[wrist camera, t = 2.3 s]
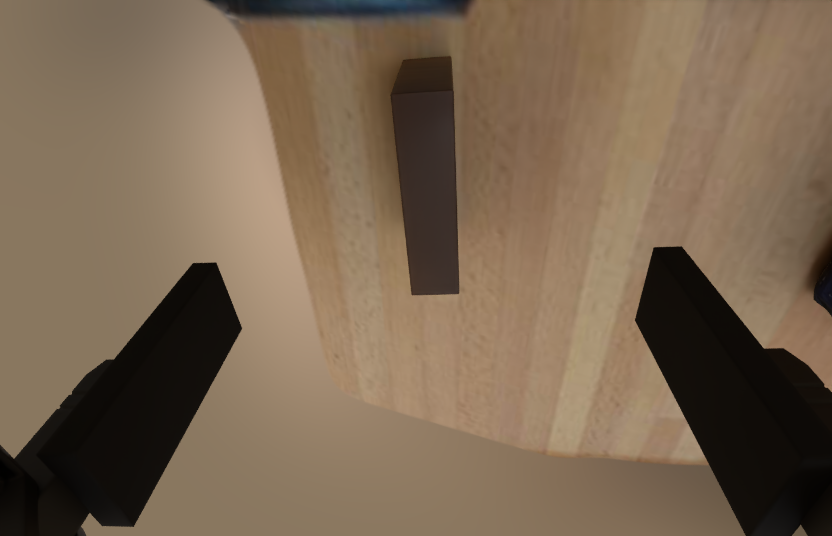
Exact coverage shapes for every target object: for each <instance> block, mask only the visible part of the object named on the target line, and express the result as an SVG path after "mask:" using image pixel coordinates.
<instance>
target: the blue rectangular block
mask: <svg viewBox="0 0 832 536" xmlns="http://www.w3.org/2000/svg"><path fill="white" fill-rule="evenodd" d="M814 300H815V301H816V302H817V303H818V304H820V305H821V306H823V307H824V308H825V309H826V310H827V311H828V312H829V314H830V315H831V316H832V261H831V262H830V263H829V265H828V266H827V267H826V268H825V269H824V271H823V273H822V274H821V276H820V277H819V279H818V281H817V283H816V286H815V288H814Z"/></svg>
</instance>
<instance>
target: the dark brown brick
mask: <svg viewBox="0 0 832 536" xmlns="http://www.w3.org/2000/svg"><path fill="white" fill-rule="evenodd" d="M391 104H392V113H393V123H394V132H395V142H396V151H397V161H398V170H399V180H400V189H401V199H402V208H403V217H404V227H405V236H406V246H407V255H408V265H409V274H410V284H411V293H412V295H441V294H459V263H458V229H457V194H456V160H455V125H454V91H453V76H452V61H451V57H450V56H449V57H436V58H422V59H409V60H403V62H402V65H401V68H400V71H399V73H398V76H397V79H396V81H395V84H394V87H393V90H392V92H391Z"/></svg>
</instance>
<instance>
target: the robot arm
mask: <svg viewBox="0 0 832 536" xmlns="http://www.w3.org/2000/svg"><path fill="white" fill-rule="evenodd" d="M635 321H636V323H637V325H638V327H639V329H640V331H641V333H642V335H643V337H644V339H645V341H646V343H647V345H648V347H649V348H650V350H651V352H652V354H653V356H654V358H655V360H656V362H657V364H658V366H659V368H660V370H661V372H662V374H663V376H664V378H665V380H666V382H667V383H668V385H669V387H670V389H671V391H672V393H673V395H674V397H675V399H676V401H677V403H678V405H679V407H680V409H681V411H682V413H683V415H684V417H685V418H686V420H687V422H688V424H689V426H690V428H691V430H692V432H693V434H694V436H695V438H696V440H697V442H698V444H699V446H700V448H701V450H702V452H703V453H704V455H705V457H706V459H707V461H708V463H709V465H710V467H711V469H712V471H713V473H714V475H715V477H716V479H717V481H718V482H719V485H720V486H721V488H722V490H723V492H724V494H725V496H726V498H727V500H728V502H729V504H730V506H731V508H732V510H733V512H734V514H735V516H736V518H737V519H738V521H739V523H740V525H741V527H742V529H743V531H744V533H745V535H746V536H792V535H793V534H794V532H795V531H796V530H797V529H798V527H799V526H800V525H802V527H803V529H804V530H805V532H806V534H807V535H808V536H832V392H831V391H830V390H829V389H828V388H825V387H824V383H823V382H822V381H821V380H820V379H819V377H818V376H817V375H816V374H815V373H814V372H813V371H812V369H811V368H810V367H809V366H808V365H807V364H805V363H804V362H803V361H801V360H800V359H798V358H797V357H795V356H794V355H792V354H791V353H789V352H788V351H786V350H785V349H784V348H777V349H764V348H763V347H762V346H761V344H760V343H759V342H758V341H757V339H756V338H755V337H754V336H753V334H752V333H751V332H750V331H749V329H748V328H747V327H746V326H745V325H744V323H743V322H742V321H741V320H740V318H739V317H738V316H737V315H736V313H735V312H734V311H733V310H732V308H731V307H730V306H729V305H728V303H727V302H726V301H725V300H724V298H723V297H722V296H721V295H720V293H719V292H718V291H717V290H716V288H715V287H714V286H713V285H712V283H711V282H710V281H709V280H708V279H707V277H706V276H705V275H704V274H703V272H702V271H701V270H700V269H699V267H698V266H697V265H696V264H695V262H694V261H693V260H692V259H691V257H690V256H689V255H688V254H687V252H686V251H685V250H684V249H683V247H682V246H681V247H654V248H653V252H652V256H651V260H650V264H649V268H648V272H647V276H646V279H645V283H644V287H643V291H642V295H641V299H640V303H639V307H638V310H637V314H636V318H635ZM241 329H242V327H241V324H240V322H239V319H238V317H237V314H236V312H235V309H234V306H233V304H232V301H231V299H230V296H229V294H228V291H227V289H226V286H225V284H224V281H223V278H222V276H221V273H220V271H219V268H218V266H217V263H193V264H192V265H191V266H190V268H189V269H188V270H187V271H186V272H185V274H184V275H183V276H182V277H181V278H180V280H179V281H178V282H177V283H176V285H175V286H174V287H173V288H172V289H171V291H170V292H169V293H168V294H167V296H166V297H165V298H164V299H163V300H162V302H161V303H160V304H159V305H158V306H157V308H156V309H155V310H154V311H153V313H152V314H151V315H150V316H149V317H148V319H147V320H146V321H145V322H144V324H143V325H142V326H141V327H140V328H139V330H138V331H137V332H136V333H135V335H134V336H133V337H132V338H131V339H130V341H129V342H128V343H127V345H126V346H125V347H124V348H123V349H122V350H121V352H120V353H119V354H118V355H117V356H116V358H115V359H114V360H105V361H104V362H103V363H101V364H100V365H99V366H97V367H96V368H95V369H93V370H92V371H91V372H89V373H88V374H87V375H86V376H85V377H84V378H83V379H82V380H81V381H80V383H79V384H78V385H77V386H76V388H74V390H73V391H72V395H69V396H68V397H67V398H66V399H65V400H64V401H63V402H62V404H61V405H60V409H57V410H56V411H55V412H54V413H53V414H52V415H51V417H50V418H49V419H48V420H47V421H46V422H45V424H44V425H43V426H42V427H41V428H40V430H39V431H38V432H37V433H36V434H35V435H34V436H33V438H32V439H31V440H30V441H29V442H28V443H27V445H26V446H25V447H24V448H23V449H22V450H21V452H20V453H19V454H18V455H17V456H16V457H15V459H13V458H12V457H11V455H10V454H8V452H6V450H5V449H4V448H3V447H2V446H1V445H0V536H86V534H85V532H84V530H83V529H82V527H81V525H82V524H83V522H84V521H85V519H86V517H87V516H88V514H89V513H91V514H92V516H93V517H94V518H95V519H96V520H97V521H98V522H99V523H100V524H101V525H102V526H127V527H128V526H129V527H134V525H135V523H136V521H137V520H138V518H139V516H140V514H141V512H142V511H143V509H144V507H145V505H146V503H147V501H148V500H149V498H150V496H151V494H152V492H153V490H154V489H155V487H156V485H157V483H158V481H159V479H160V477H161V476H162V474H163V472H164V470H165V468H166V467H167V465H168V463H169V461H170V459H171V458H172V456H173V454H174V452H175V450H176V448H177V447H178V445H179V443H180V441H181V439H182V437H183V435H184V434H185V432H186V430H187V428H188V426H189V425H190V423H191V421H192V419H193V417H194V415H195V414H196V412H197V410H198V408H199V406H200V404H201V403H202V401H203V399H204V397H205V395H206V393H207V392H208V390H209V388H210V386H211V384H212V382H213V381H214V379H215V377H216V375H217V373H218V372H219V370H220V368H221V366H222V364H223V362H224V361H225V359H226V357H227V355H228V353H229V351H230V350H231V348H232V346H233V344H234V342H235V340H236V339H237V337H238V335H239V333H240V331H241Z"/></svg>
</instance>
